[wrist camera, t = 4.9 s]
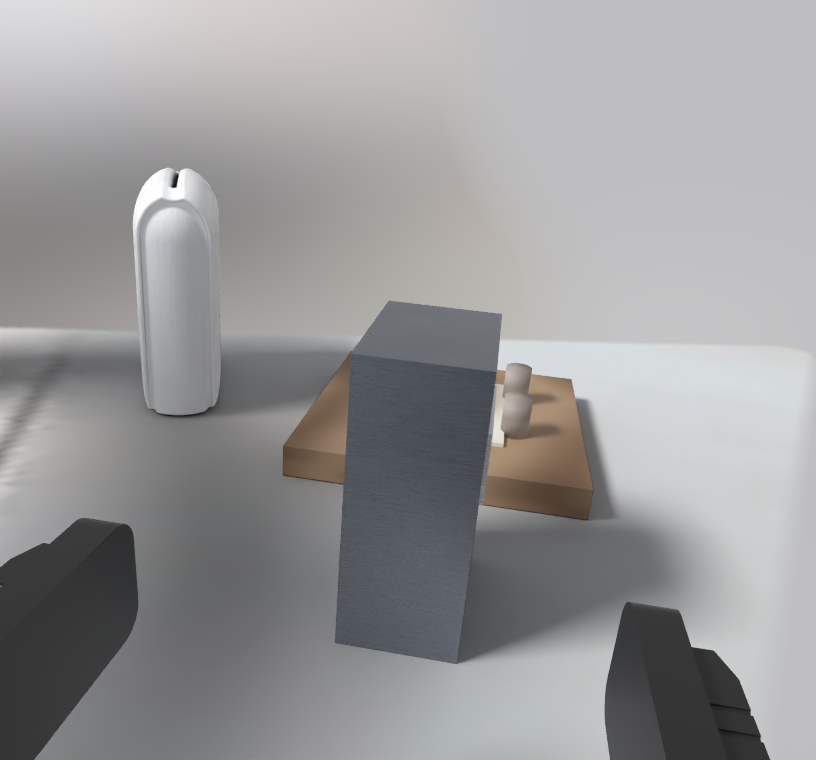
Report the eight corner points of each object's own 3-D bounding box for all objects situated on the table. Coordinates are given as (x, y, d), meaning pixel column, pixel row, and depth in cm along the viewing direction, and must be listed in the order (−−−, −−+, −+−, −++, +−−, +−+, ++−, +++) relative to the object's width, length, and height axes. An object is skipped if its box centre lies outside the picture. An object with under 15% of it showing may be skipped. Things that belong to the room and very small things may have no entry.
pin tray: (282, 474, 33) (284, 406, 31) (350, 373, 46) (352, 321, 44) (587, 519, 31) (601, 449, 30) (567, 401, 44) (576, 348, 43)
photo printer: (153, 354, 46) (142, 158, 42) (221, 353, 47) (217, 162, 43) (137, 420, 37) (121, 177, 32) (222, 417, 38) (218, 182, 33)
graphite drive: (334, 642, 23) (351, 353, 19) (371, 540, 28) (388, 300, 25) (461, 664, 22) (502, 372, 19) (472, 555, 28) (506, 314, 24)
